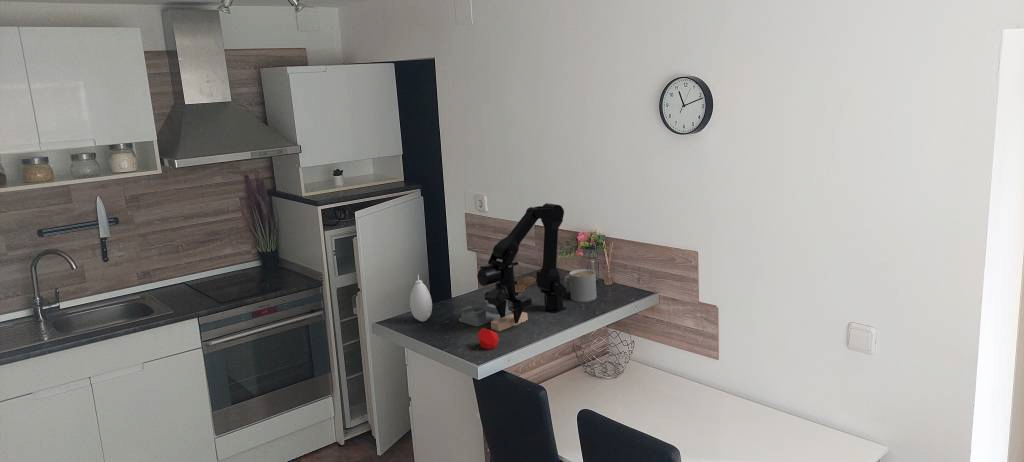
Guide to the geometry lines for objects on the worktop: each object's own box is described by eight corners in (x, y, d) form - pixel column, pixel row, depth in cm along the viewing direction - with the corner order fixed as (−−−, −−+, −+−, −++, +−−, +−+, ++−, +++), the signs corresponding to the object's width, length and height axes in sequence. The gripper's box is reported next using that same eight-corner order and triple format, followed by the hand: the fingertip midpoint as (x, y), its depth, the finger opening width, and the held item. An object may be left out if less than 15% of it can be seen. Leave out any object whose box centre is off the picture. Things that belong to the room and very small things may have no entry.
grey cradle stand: (511, 313, 272) (510, 302, 271) (477, 326, 260) (475, 314, 259) (493, 308, 279) (492, 297, 278) (459, 321, 268) (458, 309, 267)
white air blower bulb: (427, 324, 266) (422, 277, 262) (408, 323, 269) (403, 276, 265) (436, 317, 273) (432, 271, 270) (418, 316, 276) (413, 270, 272)
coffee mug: (601, 297, 283) (600, 272, 281) (582, 303, 277) (581, 277, 275) (578, 290, 294) (577, 266, 291) (559, 296, 288) (558, 271, 286)
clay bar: (527, 321, 263) (527, 313, 263) (499, 332, 254) (498, 324, 254) (520, 318, 266) (519, 311, 266) (491, 329, 257) (490, 321, 256)
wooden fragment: (519, 295, 294) (519, 292, 294) (495, 293, 299) (495, 291, 299) (545, 277, 316) (545, 275, 316) (523, 276, 321) (522, 274, 321)
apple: (503, 332, 237) (489, 319, 242) (486, 341, 234) (472, 327, 239) (503, 347, 241) (490, 334, 246) (486, 357, 238) (473, 343, 243)
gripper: (471, 280, 258) (475, 322, 261) (507, 289, 245) (511, 333, 248) (494, 273, 265) (498, 314, 269) (531, 281, 252) (534, 324, 255)
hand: (509, 321), depth 260 cm, fingers open, 7 cm apart
